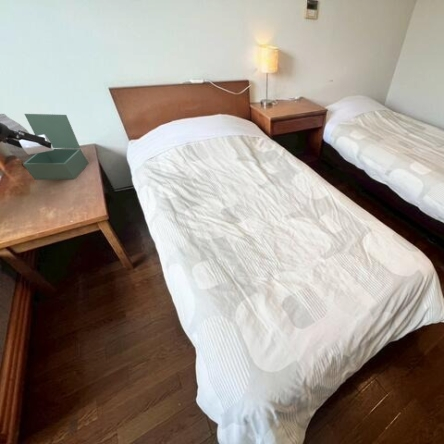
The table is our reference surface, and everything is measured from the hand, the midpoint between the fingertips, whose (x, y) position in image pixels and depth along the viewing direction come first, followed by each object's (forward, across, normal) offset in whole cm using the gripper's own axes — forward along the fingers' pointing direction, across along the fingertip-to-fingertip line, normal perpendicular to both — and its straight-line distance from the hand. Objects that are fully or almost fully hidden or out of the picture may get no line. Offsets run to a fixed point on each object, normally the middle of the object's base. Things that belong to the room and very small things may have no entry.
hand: (36, 145), depth 125 cm
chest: (+21, -2, -8) cm, 22 cm away
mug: (+1, +1, -4) cm, 4 cm away
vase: (+28, -22, -1) cm, 36 cm away
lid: (+14, -2, +12) cm, 19 cm away
